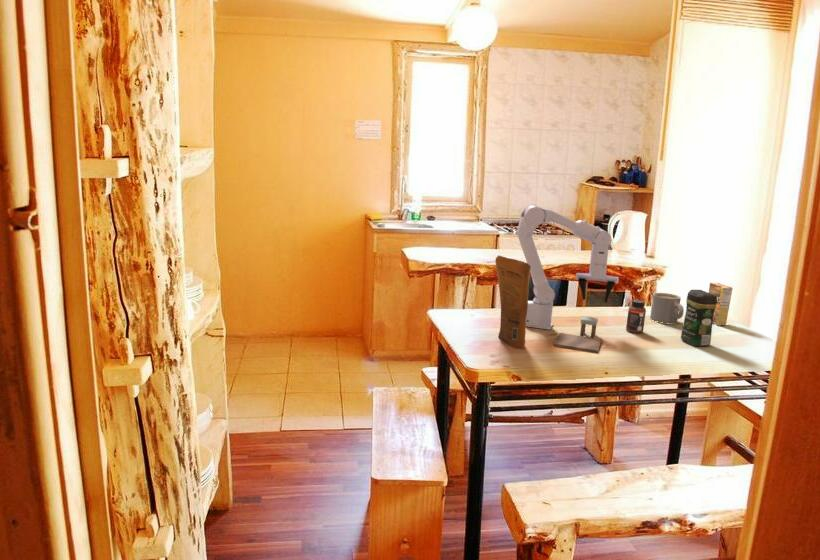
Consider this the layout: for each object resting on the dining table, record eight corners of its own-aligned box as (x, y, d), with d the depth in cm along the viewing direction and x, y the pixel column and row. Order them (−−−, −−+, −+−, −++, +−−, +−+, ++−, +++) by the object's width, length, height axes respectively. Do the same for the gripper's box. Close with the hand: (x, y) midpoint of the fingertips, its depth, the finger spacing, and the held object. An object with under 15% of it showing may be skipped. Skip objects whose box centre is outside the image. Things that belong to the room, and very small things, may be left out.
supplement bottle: (644, 334, 219) (648, 303, 217) (626, 332, 220) (630, 302, 218) (641, 330, 225) (645, 300, 223) (624, 328, 226) (628, 298, 224)
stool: (579, 336, 213) (581, 319, 212) (580, 332, 218) (582, 316, 216) (594, 338, 211) (596, 321, 210) (596, 334, 216) (597, 318, 215)
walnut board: (553, 345, 200) (553, 343, 200) (559, 334, 213) (559, 332, 213) (597, 353, 195) (597, 350, 195) (601, 341, 208) (601, 339, 208)
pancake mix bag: (513, 351, 192) (521, 264, 187) (487, 333, 210) (493, 253, 204) (532, 350, 195) (541, 263, 189) (505, 332, 212) (511, 253, 206)
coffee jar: (676, 338, 216) (683, 287, 212) (696, 338, 217) (704, 288, 213) (692, 347, 207) (701, 294, 203) (714, 347, 208) (722, 294, 204)
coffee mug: (644, 317, 244) (648, 292, 242) (667, 317, 246) (670, 292, 244) (664, 326, 231) (668, 301, 229) (688, 326, 233) (691, 301, 231)
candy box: (703, 319, 245) (709, 282, 242) (712, 319, 246) (718, 282, 243) (716, 325, 237) (723, 287, 233) (726, 326, 237) (733, 287, 234)
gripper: (620, 263, 218) (617, 300, 221) (579, 259, 224) (576, 295, 227) (619, 266, 212) (615, 304, 215) (576, 262, 217) (573, 299, 220)
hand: (594, 300), depth 220 cm, fingers open, 7 cm apart
